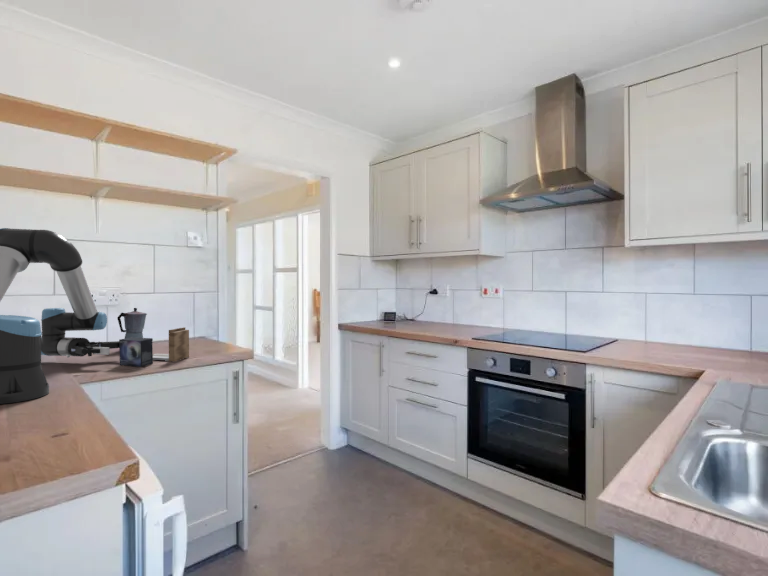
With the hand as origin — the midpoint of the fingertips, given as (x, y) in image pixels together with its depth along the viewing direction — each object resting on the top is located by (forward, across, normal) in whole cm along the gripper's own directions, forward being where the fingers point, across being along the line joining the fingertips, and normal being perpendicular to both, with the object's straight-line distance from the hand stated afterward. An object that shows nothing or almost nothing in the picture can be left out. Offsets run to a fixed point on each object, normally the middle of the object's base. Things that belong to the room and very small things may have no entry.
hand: (122, 348), depth 165 cm
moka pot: (-22, -34, -7) cm, 41 cm away
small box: (+6, 0, -7) cm, 9 cm away
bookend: (+10, -12, -6) cm, 17 cm away
